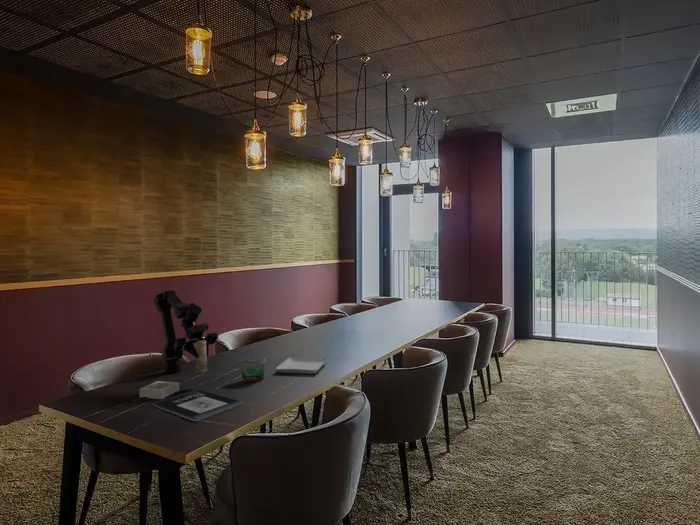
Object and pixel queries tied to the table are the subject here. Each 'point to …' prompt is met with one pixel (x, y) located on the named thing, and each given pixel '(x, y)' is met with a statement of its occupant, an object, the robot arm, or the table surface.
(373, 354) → the table surface
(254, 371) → the food container
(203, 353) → the beige cylinder
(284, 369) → the salad plate
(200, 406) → the sketchbook
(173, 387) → the holder block
